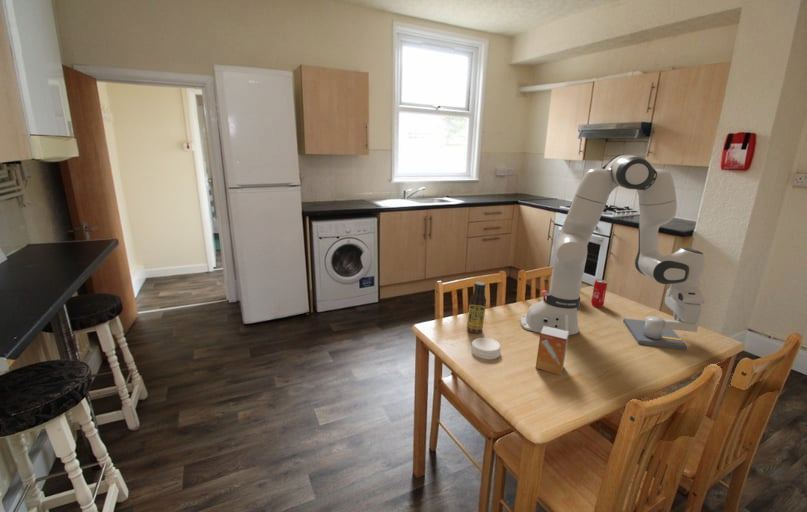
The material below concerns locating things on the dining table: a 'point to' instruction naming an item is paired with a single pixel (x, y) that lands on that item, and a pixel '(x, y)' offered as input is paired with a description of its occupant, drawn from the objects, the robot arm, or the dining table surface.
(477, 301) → the sauce bottle
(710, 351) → the dining table surface
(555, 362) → the small box
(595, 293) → the beverage can
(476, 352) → the white bowl
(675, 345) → the plate
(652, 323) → the white measuring scoop
